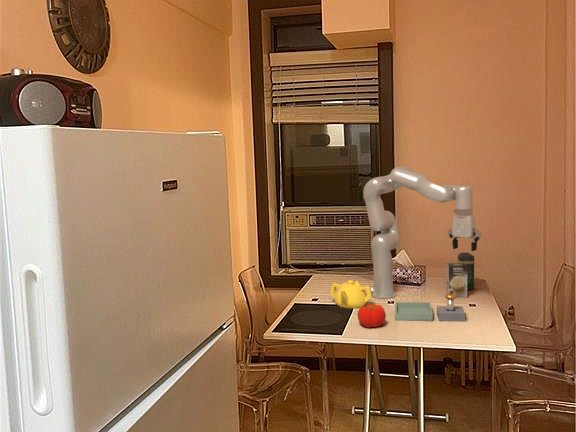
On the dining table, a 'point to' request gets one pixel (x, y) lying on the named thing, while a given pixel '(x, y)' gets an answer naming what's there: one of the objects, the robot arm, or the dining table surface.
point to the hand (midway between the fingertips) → (464, 249)
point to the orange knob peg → (450, 301)
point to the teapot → (350, 294)
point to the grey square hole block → (450, 314)
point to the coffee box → (457, 279)
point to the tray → (413, 311)
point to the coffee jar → (468, 268)
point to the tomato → (371, 315)
